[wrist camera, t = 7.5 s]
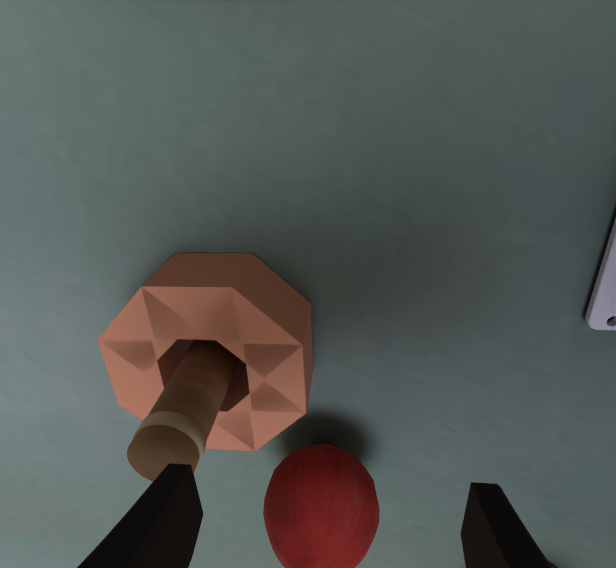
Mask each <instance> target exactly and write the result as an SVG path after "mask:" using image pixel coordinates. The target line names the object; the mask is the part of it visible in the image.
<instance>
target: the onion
mask: <svg viewBox="0 0 616 568" xmlns="http://www.w3.org/2000/svg"><path fill="white" fill-rule="evenodd" d="M263 514H264V520H265V526H266V530H267V533H268V536H269V540H270V543H271V545H272V548H273V551H274V552H275V554H276V556H277V558H278V559H279V561H280V562H281V563H282V565H283V566H284V567H285V568H355V567H356V566H357V565H358V564H359V563H360V562H361V561H362V559H363V558H364V557H365V555H366V554H367V551H368V549H369V547H370V545H371V543H372V541H373V539H374V537H375V534H376V531H377V527H378V524H379V504H378V500H377V495H376V491H375V485H374V480H373V479H372V477H371V476H370V474H369V473H368V471H367V470H366V468H365V467H364V466H363V465H362V463H361V462H360V461H359V460H358V459H357V458H356V457H354V456H353V455H351V454H350V453H348V452H346V451H344V450H342V449H340V448H338V447H335V446H334V445H332V444H330V443H325V442H324V443H320V444H314V445H309V446H304V447H301V448H299V449H296V450H294V451H293V452H292V453H290V454H289V455H288V456H287V457H286V458H285V459H284V460H283V461H282V462H281V463H280V464H279V465H278V466H277V468H276V469H275V470H274V472H273V475H272V477H271V480H270V483H269V485H268V489H267V492H266V495H265V499H264V511H263Z"/></svg>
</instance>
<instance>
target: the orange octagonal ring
mask: <svg viewBox="0 0 616 568" xmlns="http://www.w3.org/2000/svg"><path fill="white" fill-rule="evenodd" d="M97 340H98V343H99V346H100V349H101V353H102V356H103V359H104V362H105V365H106V368H107V371H108V374H109V377H110V380H111V383H112V386H113V389H114V392H115V395H116V398H117V401H118V404H119V405H120V406H121V407H123V408H124V409H126V410H127V411H129V412H130V413H132V414H133V415H135V416H136V417H137V418H139V419H140V420H142V421H143V420H144V419H145V417H147V416H148V414H149V413H150V411H151V409H152V408H153V406H154V404H155V403H156V401H157V399H158V398H159V396H160V395H161V393H162V391H163V390H164V388H165V386H166V385H167V383H168V381H169V380H170V378H171V377H172V375H173V373H174V372H175V370H176V368H177V367H178V365H179V363H180V362H181V360H182V359H183V357H184V355H185V354H186V352H187V350H188V349H189V347H190V345H191V340H216V341H217V342H219V343H220V344H221V345H222V346H224V347H225V348H226V349H228V350H229V351H230V352H232V353H233V354H234V355H235V356H237V357H238V358H239V359H241V360H242V361H243V362H245V363H246V365H242V364H238V365H237V368H236V370H235V373H234V375H233V377H232V380H231V382H230V385H229V387H228V390H227V392H226V395H225V397H224V400H223V402H222V405H221V407H220V409H219V412H218V414H217V417H216V419H215V422H214V424H213V427H212V429H211V432H210V434H209V436H208V439H207V441H206V447H205V449H223V450H241V451H256V450H257V449H259V448H260V447H261V446H263V445H264V444H266V443H267V442H268V441H270V440H271V439H272V438H274V437H275V436H276V435H278V434H279V433H280V432H282V431H283V430H284V429H286V428H287V427H288V426H290V425H291V424H292V423H294V422H295V421H296V420H298V419H299V418H300V417H302V416H303V415H304V414H306V413H307V406H308V399H309V392H310V385H311V378H312V371H313V346H312V323H311V303H310V302H309V301H308V300H306V299H305V298H304V297H303V296H302V295H301V294H299V293H298V292H297V291H296V290H295V289H294V288H292V287H291V286H290V285H289V284H288V283H287V282H285V281H284V280H283V279H282V278H281V277H280V276H278V275H277V274H276V273H275V272H274V271H273V270H271V269H270V268H269V267H268V266H267V265H266V264H264V263H263V262H262V261H261V260H260V259H259V258H257V257H256V256H255V255H254V254H253V253H175V254H174V255H173V256H172V257H171V258H170V259H169V260H168V261H167V262H166V263H165V264H163V265H162V266H161V267H160V268H159V269H158V270H157V271H156V272H155V273H154V274H153V275H152V276H151V277H150V278H149V279H148V280H147V281H146V282H145V283H144V284H143V285H142V286H141V287H140V289H139V290H138V291H137V292H136V293H135V295H134V296H133V297H132V298H131V299H130V301H129V302H128V303H127V304H126V306H125V307H124V308H123V309H122V310H121V312H120V313H119V314H118V315H117V316H116V318H115V319H114V320H113V321H112V323H111V324H110V325H109V326H108V327H107V329H106V330H105V331H104V332H103V334H102V335H101V336H100V337H99V338H98V339H97Z"/></svg>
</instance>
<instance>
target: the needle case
mask: <svg viewBox="0 0 616 568" xmlns="http://www.w3.org/2000/svg"><path fill="white" fill-rule="evenodd" d="M239 360H240V359H239V358H238V357H237V356H235V355H234V354H233V353H232V352H230V351H229V350H228V349H226V348H225V347H224V346H222V345H221V344H220V343H219V342H217V341H216V340H194V341H193V342H192V344H191V345H190V347H189V349H188V350H187V352H186V354H185V355H184V357H183V359H182V360H181V362H180V363H179V365H178V367H177V368H176V370H175V372H174V373H173V375H172V377H171V378H170V380H169V381H168V383H167V385H166V386H165V388H164V390H163V391H162V393H161V395H160V396H159V398H158V399H157V401H156V403H155V404H154V406H153V408H152V409H151V411H150V413H149V414H148V416H147V417H145V419H144V420H143V421H142V423H141V425H140V426H139V428H138V429H137V431H136V433H135V434H134V437H133V440H132V442H131V444H130V445H129V447H128V450H127V457H128V460H129V463H130V464H131V466H132V467H133V468H134V469H135V470H136V471H137V472H138V473H139V474H140V475H142V476H143V477H145V478H147V479H149V480H151V481H154V480H155V479H156V478H157V477H158V475H159V474H160V473H161V472H162V471H163V469H164V468H165V467H166V466H167V465H168V464H169V463H174V464H190V465H191V466H192V470H193V473H194V471H195V468H196V466H197V465H198V464H199V462H200V460H201V457H202V455H203V452H204V450H205V447H206V441H207V439H208V436H209V434H210V432H211V429H212V427H213V424H214V422H215V419H216V417H217V414H218V412H219V409H220V407H221V405H222V402H223V400H224V397H225V395H226V392H227V390H228V387H229V385H230V382H231V380H232V377H233V375H234V373H235V370H236V368H237V365H238V363H239Z"/></svg>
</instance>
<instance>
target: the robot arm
mask: <svg viewBox="0 0 616 568" xmlns="http://www.w3.org/2000/svg"><path fill="white" fill-rule="evenodd" d="M613 316H615V317H614V319H613V320H611V321H608V322H607V320H608V319H609V318H610V317H613ZM585 322H586V323H587V325H588V326H589V327H591V328H592V329H595V330H616V218H615V221H614V225H613V228H612V231H611V234H610V238H609V241H608V244H607V247H606V251H605V254H604V257H603V260H602V264H601V267H600V270H599V273H598V277H597V280H596V283H595V286H594V290H593V293H592V296H591V299H590V303H589V306H588V309H587V312H586V316H585ZM202 517H203V511H202V507H201V502H200V498H199V494H198V490H197V486H196V482H195V478H194V474H193V470H192V466H191V465H190V464H174V463H169V464H168V465H167V466H166V467H165V468H164V469H163V471H162V472H161V473H160V474H159V475H158V477H157V478H156V479H155V480H154V481H153V483H152V484H151V485H150V486H149V487H148V489H147V490H146V491H145V492H144V493H143V495H142V496H141V497H140V498H139V499H138V500H137V502H136V503H135V504H134V505H133V506H132V507H131V509H130V510H129V511H128V512H127V513H126V514H125V516H124V517H123V518H122V519H121V520H120V521H119V522H118V524H117V525H116V526H115V527H114V528H113V529H112V530H111V531H110V533H109V534H108V535H107V536H106V537H105V538H104V539H103V540H102V542H101V543H100V544H99V545H98V546H97V547H96V548H95V549H94V550H93V551H92V552H91V553H90V555H89V556H88V557H87V558H86V559H85V560H84V561H83V562H82V563H81V564H80V565H79V566H78V567H77V568H188V567H189V564H190V561H191V559H192V555H193V552H194V548H195V544H196V541H197V537H198V533H199V529H200V525H201V521H202ZM461 539H462V545H463V552H464V558H465V564H466V568H552V566H551V565H550V563H549V562H548V561H547V559H546V558H545V556H544V555H543V553H542V552H541V550H540V549H539V547H538V546H537V544H536V543H535V541H534V540H533V538H532V537H531V535H530V534H529V532H528V531H527V529H526V528H525V526H524V524H523V523H522V521H521V520H520V518H519V517H518V515H517V513H516V512H515V510H514V509H513V507H512V505H511V504H510V502H509V500H508V499H507V497H506V495H505V494H504V492H503V490H502V489H501V487H500V486H499V485H498V484H489V483H473V482H471V485H470V490H469V495H468V500H467V505H466V510H465V515H464V520H463V525H462V530H461Z"/></svg>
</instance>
